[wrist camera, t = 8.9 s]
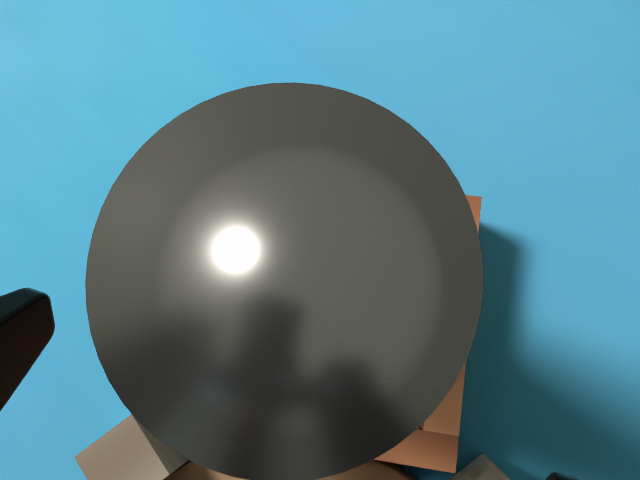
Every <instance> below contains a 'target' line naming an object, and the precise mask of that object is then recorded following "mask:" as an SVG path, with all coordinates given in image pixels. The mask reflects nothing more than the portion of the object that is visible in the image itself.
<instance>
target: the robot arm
mask: <svg viewBox="0 0 640 480" xmlns="http://www.w3.org/2000/svg"><path fill="white" fill-rule="evenodd" d="M54 329H55V322H54V317H53V311H52V306H51V300H50V297H49V296H48V295H47V294H45V293H43V292H40V291H37V290H34V289H31V288H22V289H19V290H16V291H13V292H11V293H8V294H5V295H3V296H0V411H1V410H2V408H3V407H4V405H5V404H6V403H7V401H8V400H9V399H10V397H11V396H12V394H13V393H14V391H15V390H16V389H17V387H18V386H19V384H20V383H21V381H22V380H23V378H24V377H25V376H26V374H27V373H28V371H29V370H30V368H31V367H32V365H33V364H34V362H35V361H36V360H37V358H38V357H39V355H40V354H41V352H42V351H43V349H44V348H45V346H46V345H47V344H48V342H49V341H50V339H51V337H52V335H53V333H54ZM546 480H577V479H575V478H573V477H570V476H567V475H564V474H561V473H558V472H554V473H551V474H550V475H549V476H548V477H547V479H546Z"/></svg>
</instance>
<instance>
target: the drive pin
mask: <svg viewBox="0 0 640 480" xmlns="http://www.w3.org/2000/svg"><path fill="white" fill-rule="evenodd" d="M85 283H86V308H87V314H88V320H89V326H90V332H91V335H92V339H93V342H94V345H95V348H96V352H97V355H98V358H99V360H100V362H101V365H102V367H103V369H104V371H105V373H106V375H107V378H108V380H109V382H110V383H111V385H112V387H113V388H114V390H115V391H116V393H117V394H118V396H119V398H120V399H121V401H122V402H123V404H124V405H125V406H126V407H127V409H128V410H129V411H130V412H131V413H132V414H133V416H134V417H135V418H136V419H137V420H138V422H139V423H140V424H141V425H142V426H143V427H144V428H146V429H147V430H148V431H149V432H150V433H151V434H152V435H153V436H154V437H156V438H157V439H158V440H159V441H160V442H161V443H163V444H164V445H166V446H167V447H169V448H170V449H172V450H173V451H175V452H176V453H178V454H179V455H181V456H182V457H184V458H186V459H188V460H190V461H192V462H194V463H196V464H199V465H201V466H203V467H205V468H207V469H210V470H213V471H216V472H219V473H222V474H225V475H228V476H231V477H236V478H241V479H247V480H316V479H320V478H324V477H328V476H332V475H336V474H340V473H344V472H346V471H348V470H351V469H353V468H356V467H358V466H361V465H363V464H365V463H368V462H370V461H372V460H373V459H375V458H377V457H379V456H380V455H382V454H384V453H385V452H387V451H389V450H391V449H392V448H394V447H395V446H397V445H398V444H399V443H400V442H402V441H403V440H404V439H405V438H407V437H408V436H409V435H410V434H412V433H413V432H414V431H416V430H417V429H418V428H419V427H420V426H421V424H422V423H423V422H424V421H425V420H426V419H427V418H428V417H429V416H430V415H431V414H432V413H433V412H434V411H435V410H436V409H437V407H438V406H439V405H440V403H441V402H442V400H443V399H444V398H445V396H446V395H447V394H448V392H449V391H450V389H451V388H452V387H453V385H454V383H455V381H456V379H457V377H458V375H459V374H460V372H461V370H462V368H463V366H464V364H465V362H466V360H467V357H468V354H469V352H470V349H471V346H472V344H473V341H474V338H475V335H476V331H477V326H478V322H479V317H480V313H481V307H482V296H483V284H484V279H483V258H482V251H481V245H480V240H479V234H478V229H477V226H476V223H475V220H474V217H473V214H472V211H471V208H470V204H469V202H468V200H467V198H466V196H465V194H464V192H463V190H462V188H461V186H460V184H459V182H458V180H457V178H456V177H455V175H454V174H453V172H452V171H451V169H450V168H449V166H448V165H447V163H446V162H445V160H444V159H443V158H442V157H441V155H440V154H439V153H438V152H437V151H436V150H435V148H434V147H433V146H432V145H431V144H430V143H429V141H428V140H427V139H425V138H424V137H423V136H422V135H421V134H420V133H419V132H418V131H417V130H415V129H414V128H413V127H412V126H411V125H410V124H409V123H407V122H406V121H404V120H403V119H401V118H400V117H398V116H397V115H395V114H394V113H392V112H391V111H390V110H388V109H386V108H384V107H382V106H380V105H378V104H376V103H374V102H372V101H370V100H368V99H366V98H364V97H361V96H358V95H355V94H352V93H350V92H347V91H344V90H340V89H335V88H331V87H326V86H322V85H315V84H304V83H270V84H263V85H257V86H250V87H245V88H242V89H238V90H234V91H231V92H227V93H224V94H221V95H219V96H216V97H214V98H212V99H209V100H207V101H204V102H202V103H200V104H198V105H196V106H195V107H193V108H191V109H189V110H187V111H186V112H184V113H182V114H180V115H179V116H177V117H176V118H175V119H173V120H172V121H171V122H169V123H168V124H166V125H165V126H164V127H162V128H161V129H160V130H159V131H158V132H156V133H155V134H154V135H153V136H152V137H151V138H150V139H149V140H148V141H147V142H146V143H145V144H144V145H143V146H142V147H141V148H140V149H139V150H138V151H137V153H136V154H135V155H134V156H133V157H132V158H131V160H130V161H129V162H128V163H127V164H126V166H125V167H124V169H123V170H122V172H121V173H120V175H119V176H118V178H117V180H116V181H115V183H114V184H113V186H112V188H111V190H110V192H109V194H108V196H107V198H106V200H105V202H104V204H103V206H102V208H101V211H100V213H99V216H98V219H97V222H96V225H95V228H94V231H93V234H92V239H91V244H90V248H89V253H88V259H87V270H86V281H85Z"/></svg>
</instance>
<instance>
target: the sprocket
mask: <svg viewBox="0 0 640 480" xmlns="http://www.w3.org/2000/svg"><path fill="white" fill-rule="evenodd" d="M465 196H466V198H467V200H468V202H469V204H470V208H471V211H472V214H473V217H474V220H475V223H476V226H477V229H478V231H479V220H480V210H481V199H482V197H477V196H468V195H465ZM465 368H466V362H465V364H464V366H463V368H462V370H461V372H460V374H459V375H458V377H457V379H456V381H455V383H454V385H453V387H452V388H451V389H450V391H449V392H448V394H447V395H446V396H445V398H444V399H443V400H442V402H441V403H440V405H439V406H438V407H437V409H436V410H435V411H434V412H433V413H432V414H431V415H430V416H429V417H428V418H427V419H426V420H425V421H424V422H423V423H422V424H421V426H420V427H419V428H418V429H417V430H416V431H414V432H413V433H412V434H410V435H409V436H408V437H407V438H405V439H404V440H403V441H402V442H400V443H399V444H398V445H397V446H395V447H394V448H392V449H391V450H389V451H387V452H385V453H384V454H382V455H380V456H379V457H377V458H375V459H373V460H372V461H370V462H368V463H365V464H363V465H361V466H358V467H356V468H353V469H351V470H348V471H346V472H344V473H340V474H336V475H332V476H328V477H324V478H320V479H316V480H418V479H417V478H416V477H414V476H413V475H412V474H410V473H409V472H408V471H406V470H405V469H403V468H402V467H401V466H399V465H398V464H403V465H409V466H415V467H421V468H427V469H433V470H439V471H445V472H450V473H456V463H457V452H458V442H459V431H460V421H461V410H462V399H463V389H464V378H465ZM75 459H76V461H77V463H78V464H79V466H80V468H81V469H82V471H83V473H84V474H85V476H86V478H87V479H88V480H247V479H241V478H236V477H231V476H228V475H225V474H222V473H219V472H216V471H213V470H210V469H207V468H205V467H203V466H201V465H199V464H196V463H194V462H192V461H189V460H188V459H186V458H184V457H182V456H181V455H179V454H178V453H176V452H175V451H173V450H172V449H170V448H169V447H167V446H166V445H164V444H163V443H161V442H160V441H159V440H158V439H157V438H156V437H154V436H153V435H152V434H151V433H150V432H149V431H148V430H147V429H146V428H144V427H143V426H142V425H141V424H140V423H139V422H138V420H137V419H136V418H135V417H134V416H133V414H131V415H130V416H129V417H127V418H126V419H125V420H123V421H122V422H121V423H119V424H118V425H117V426H115V427H114V428H113V429H111V430H110V431H109V432H107V433H106V434H105V435H103V436H102V437H101V438H99V439H98V440H97V441H95V442H94V443H93V444H91V445H90V446H89V447H87V448H86V449H85V450H83V451H82V452H81V453H79V454H78V455H77V456H76V457H75ZM187 461H189V462H187ZM186 462H187V463H186ZM185 463H186V464H185ZM397 463H398V464H397ZM183 464H184V465H183ZM182 465H183V466H182ZM179 467H180V468H179ZM449 480H510V479H509V478H508V477H507V476H506V475H505V474H504V473H503V472H502V471H501V470H500V469H499V468H498V467H497V466H496V465H495V464H494V463H493V462H492V461H491V460H490V459H489V458H488V457H487V456H486V455H484V454H483V453H482V454H481V455H479V456H478V457H477V458H476V459H474V460H473V461H472V462H471V463H469V464H468V465H467V466H466V467H464V468H463V469H462V470H460V471H459V472H458V473H457V474H455V475H454V476H453V477H452V478H450V479H449Z"/></svg>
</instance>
